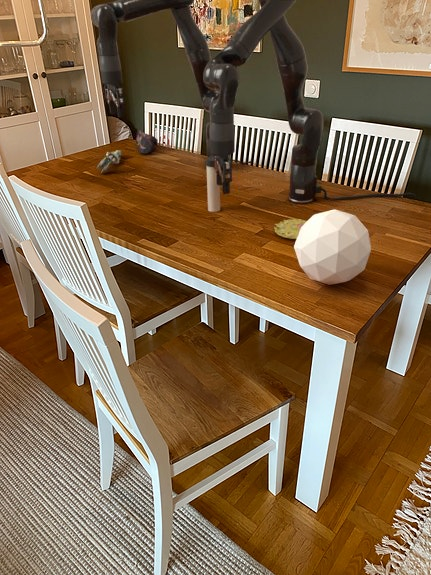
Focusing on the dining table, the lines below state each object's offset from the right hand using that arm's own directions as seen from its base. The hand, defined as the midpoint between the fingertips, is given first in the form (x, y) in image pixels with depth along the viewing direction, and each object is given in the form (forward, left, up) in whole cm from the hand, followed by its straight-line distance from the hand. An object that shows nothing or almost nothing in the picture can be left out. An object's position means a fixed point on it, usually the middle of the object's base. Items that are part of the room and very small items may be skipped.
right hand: (222, 189), depth 141 cm
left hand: (+29, -52, +14) cm, 62 cm away
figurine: (+35, -87, -15) cm, 95 cm away
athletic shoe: (+14, -108, -15) cm, 110 cm away
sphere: (-20, +37, -15) cm, 45 cm away
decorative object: (-24, +9, -15) cm, 30 cm away
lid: (-1, -19, +4) cm, 20 cm away
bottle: (-1, -19, -15) cm, 24 cm away
